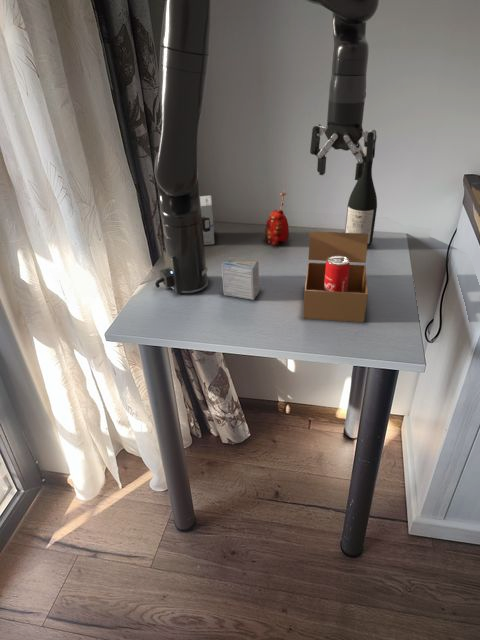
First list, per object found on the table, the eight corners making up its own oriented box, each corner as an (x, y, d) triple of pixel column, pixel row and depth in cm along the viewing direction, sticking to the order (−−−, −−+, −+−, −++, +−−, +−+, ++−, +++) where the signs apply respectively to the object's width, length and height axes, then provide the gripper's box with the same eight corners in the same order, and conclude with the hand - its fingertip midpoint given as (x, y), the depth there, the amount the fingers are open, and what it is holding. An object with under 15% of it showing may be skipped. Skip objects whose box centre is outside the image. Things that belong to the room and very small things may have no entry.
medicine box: (259, 292, 119) (259, 260, 113) (253, 301, 115) (252, 268, 110) (230, 287, 121) (228, 255, 115) (223, 295, 117) (221, 263, 112)
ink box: (198, 233, 147) (194, 195, 140) (214, 232, 148) (211, 194, 141) (198, 245, 140) (194, 206, 133) (214, 244, 141) (211, 205, 134)
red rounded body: (261, 238, 144) (260, 188, 135) (282, 234, 146) (283, 185, 137) (272, 248, 138) (272, 197, 129) (293, 244, 141) (295, 193, 132)
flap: (308, 259, 115) (308, 259, 115) (365, 262, 113) (365, 262, 114) (310, 231, 113) (310, 231, 113) (368, 233, 111) (368, 233, 112)
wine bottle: (368, 251, 136) (383, 139, 118) (341, 247, 139) (351, 136, 121) (374, 240, 142) (389, 131, 124) (347, 236, 145) (358, 129, 126)
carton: (306, 288, 120) (308, 262, 115) (361, 291, 118) (365, 265, 114) (303, 318, 109) (304, 290, 105) (363, 322, 107) (367, 294, 103)
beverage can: (346, 312, 110) (351, 265, 103) (323, 312, 110) (327, 265, 103) (343, 301, 114) (348, 254, 107) (321, 301, 114) (325, 254, 107)
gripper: (308, 98, 100) (304, 177, 110) (375, 103, 95) (365, 186, 105) (321, 92, 106) (316, 168, 115) (385, 97, 101) (374, 176, 110)
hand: (339, 176), depth 110 cm, fingers open, 8 cm apart
